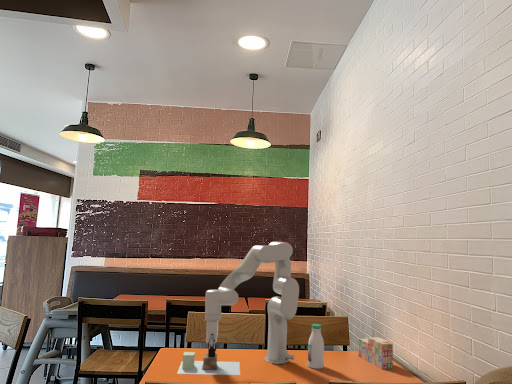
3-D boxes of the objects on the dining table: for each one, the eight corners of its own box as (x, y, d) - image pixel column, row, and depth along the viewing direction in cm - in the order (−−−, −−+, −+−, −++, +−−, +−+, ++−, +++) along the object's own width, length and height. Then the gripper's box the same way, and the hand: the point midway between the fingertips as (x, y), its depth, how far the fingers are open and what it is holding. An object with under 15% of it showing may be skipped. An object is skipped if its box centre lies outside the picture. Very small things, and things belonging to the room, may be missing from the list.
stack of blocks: (358, 356, 211) (358, 333, 213) (368, 355, 213) (368, 332, 215) (382, 369, 191) (382, 343, 192) (393, 368, 193) (393, 343, 194)
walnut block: (216, 365, 185) (217, 354, 185) (216, 369, 179) (216, 358, 179) (204, 365, 184) (204, 354, 185) (202, 369, 178) (203, 358, 179)
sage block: (194, 365, 184) (194, 352, 184) (193, 368, 179) (193, 355, 179) (183, 365, 183) (184, 351, 184) (182, 368, 178) (183, 355, 179)
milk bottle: (325, 365, 193) (326, 324, 195) (321, 370, 186) (322, 327, 188) (310, 363, 196) (311, 322, 198) (305, 367, 189) (306, 325, 191)
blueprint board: (239, 363, 191) (239, 361, 191) (240, 376, 173) (240, 374, 173) (182, 361, 190) (182, 360, 190) (176, 375, 172) (176, 373, 172)
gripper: (206, 312, 193) (205, 348, 191) (203, 320, 175) (202, 360, 174) (221, 312, 193) (220, 348, 191) (220, 320, 176) (219, 360, 174)
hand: (212, 353), depth 183 cm, fingers open, 9 cm apart
